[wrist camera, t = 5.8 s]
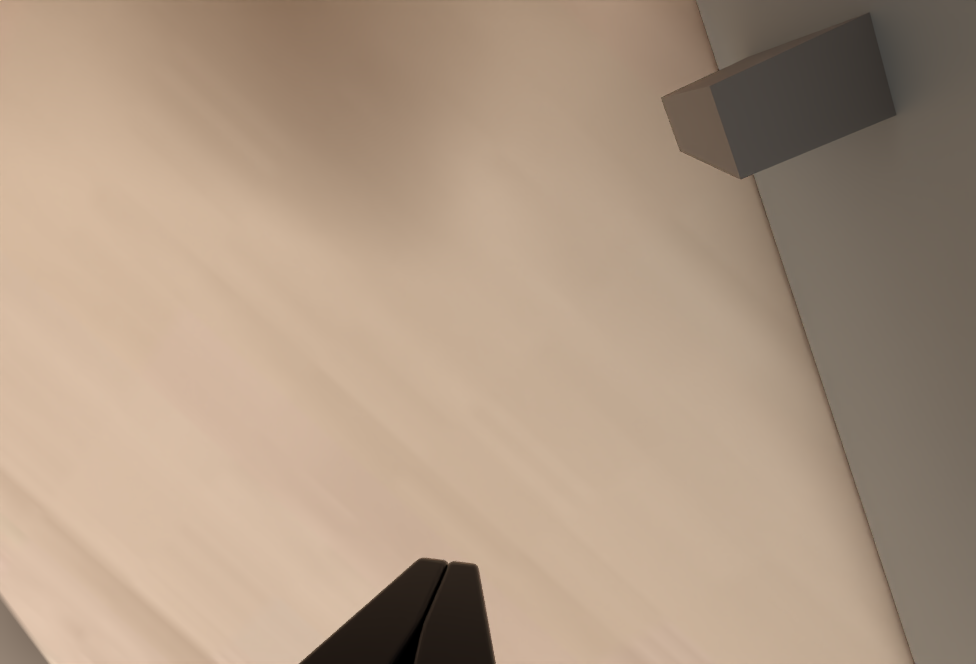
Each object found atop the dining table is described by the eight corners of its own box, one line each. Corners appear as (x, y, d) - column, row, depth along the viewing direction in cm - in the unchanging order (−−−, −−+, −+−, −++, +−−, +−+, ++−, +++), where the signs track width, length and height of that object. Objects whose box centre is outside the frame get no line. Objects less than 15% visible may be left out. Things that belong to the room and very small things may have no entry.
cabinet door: (1011, 774, 14) (1499, 1555, 6) (898, 787, 15) (1220, 1507, 7) (762, -69, 9) (1443, -822, 2) (615, 7, 10) (669, -305, 3)
